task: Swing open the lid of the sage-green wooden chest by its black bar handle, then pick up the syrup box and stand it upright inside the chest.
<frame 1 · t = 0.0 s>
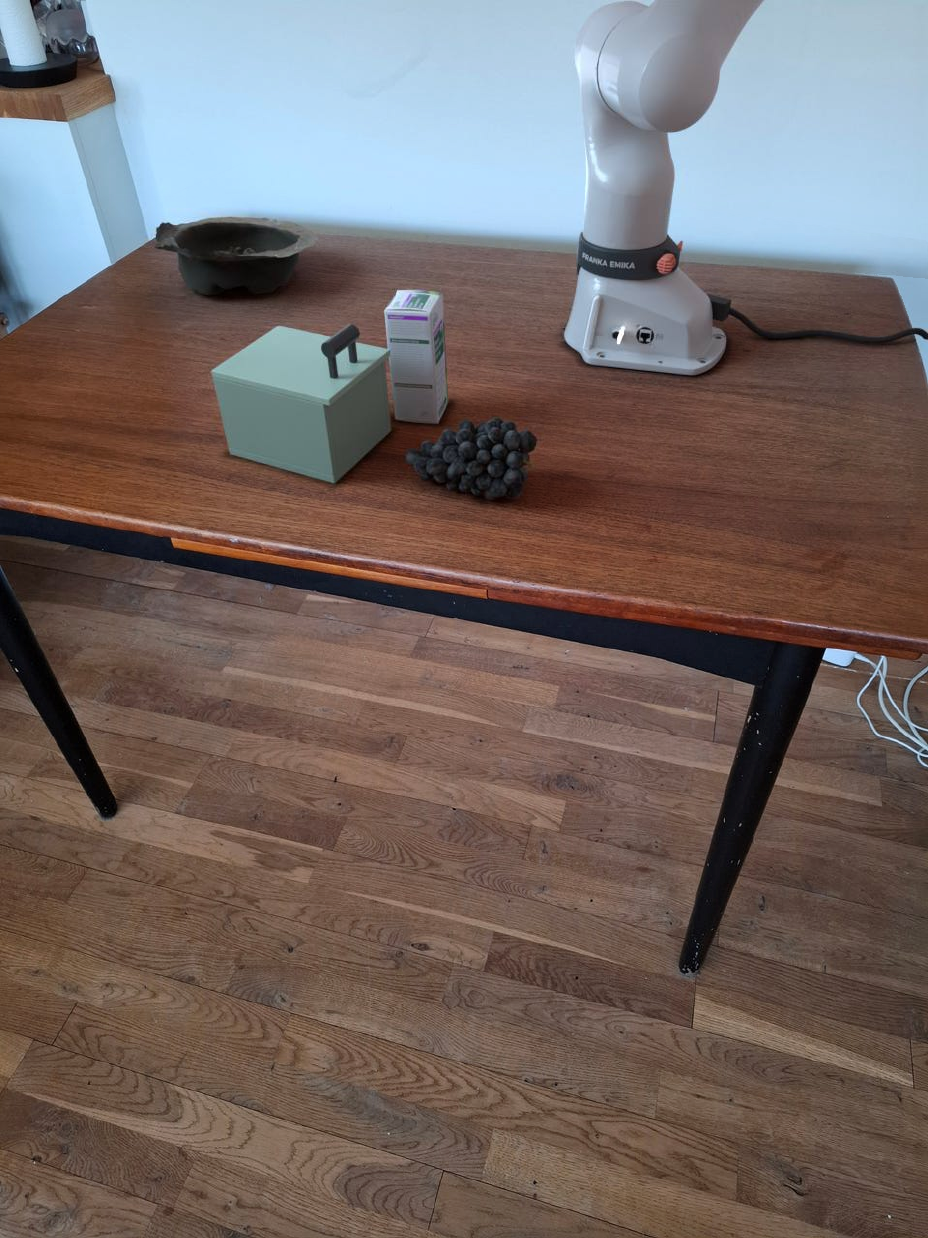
chest: (311, 442, 107), on the table
stone bowl: (246, 279, 145), on the table
lid: (299, 345, 99), point 12 cm above the table, hinge at 0.0°
fruit: (471, 486, 100), on the table
syrup box: (421, 412, 112), on the table
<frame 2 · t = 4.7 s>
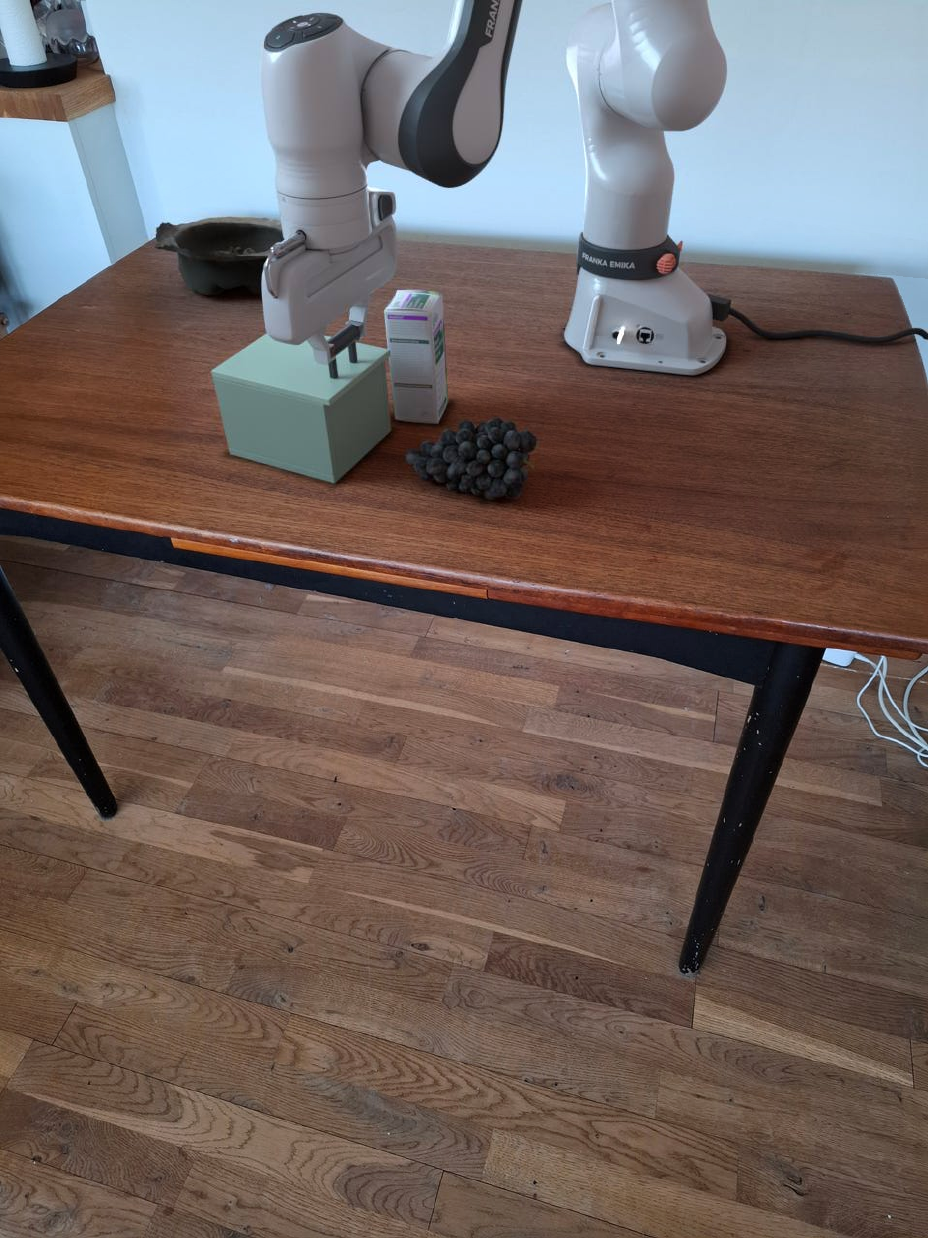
hand: (341, 348, 96), 13 cm above the table, tool pointing down, fingers closed on lid, 5 cm apart
lid: (299, 345, 99), point 12 cm above the table, hinge at -0.1°, touching gripper
everything else where it was.
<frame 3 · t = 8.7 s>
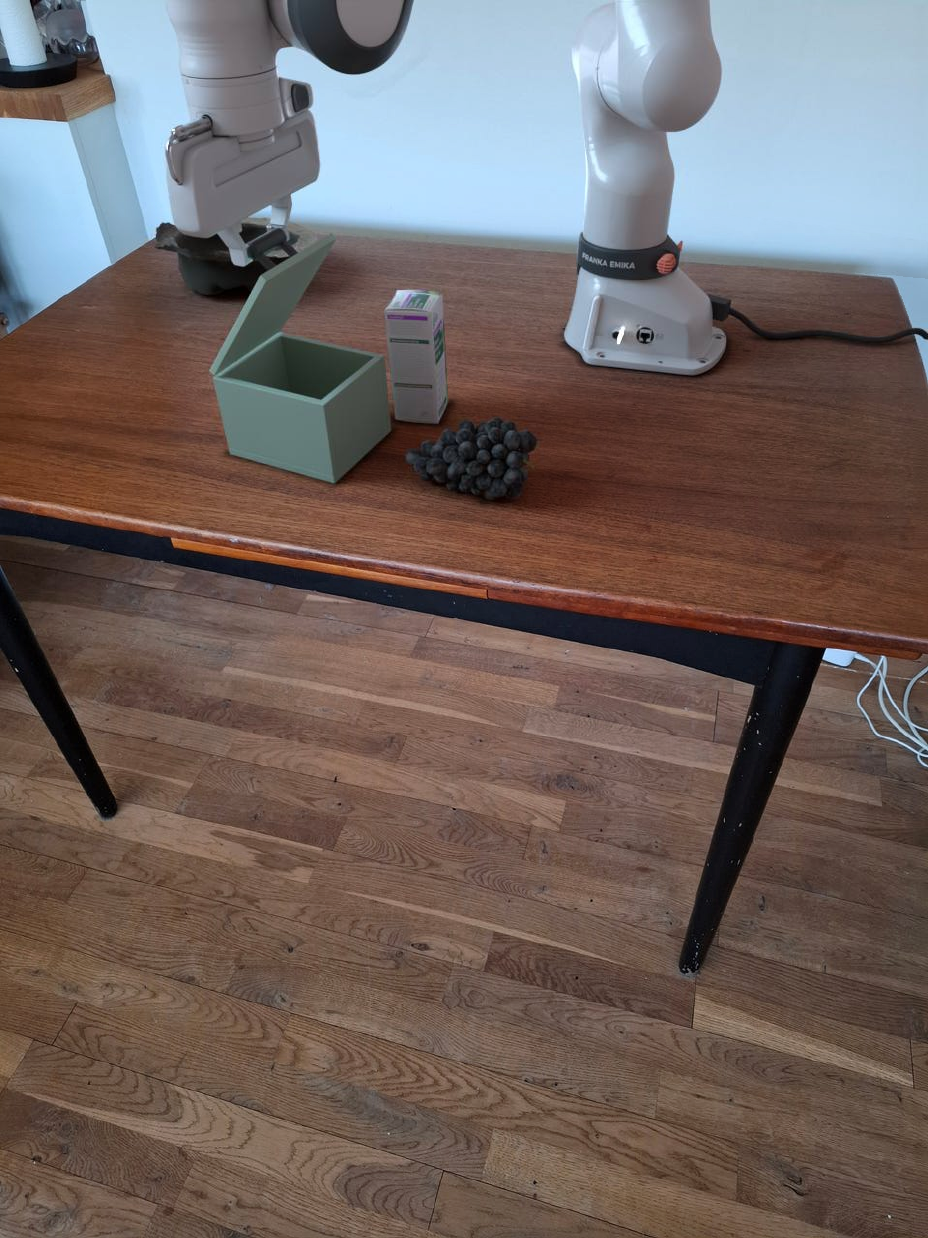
hand: (262, 252, 93), 22 cm above the table, tool pointing down, fingers closed on lid, 5 cm apart
lid: (257, 291, 97), point 18 cm above the table, hinge at 51.7°, touching gripper
everything else where it was.
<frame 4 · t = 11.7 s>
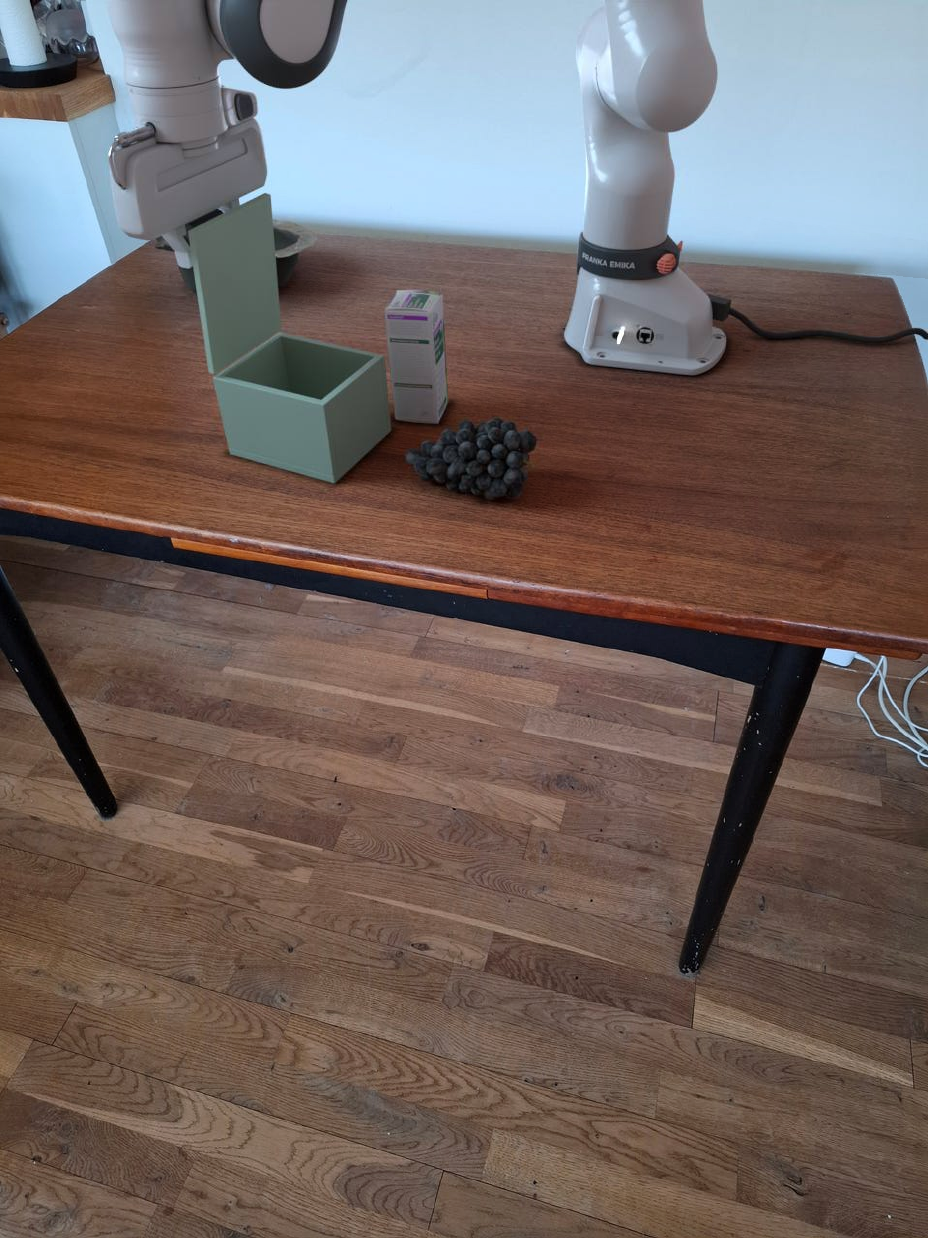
hand: (209, 254, 96), 21 cm above the table, tool pointing down, fingers open, 5 cm apart
lid: (223, 279, 98), point 18 cm above the table, hinge at 84.1°
everything else where it was.
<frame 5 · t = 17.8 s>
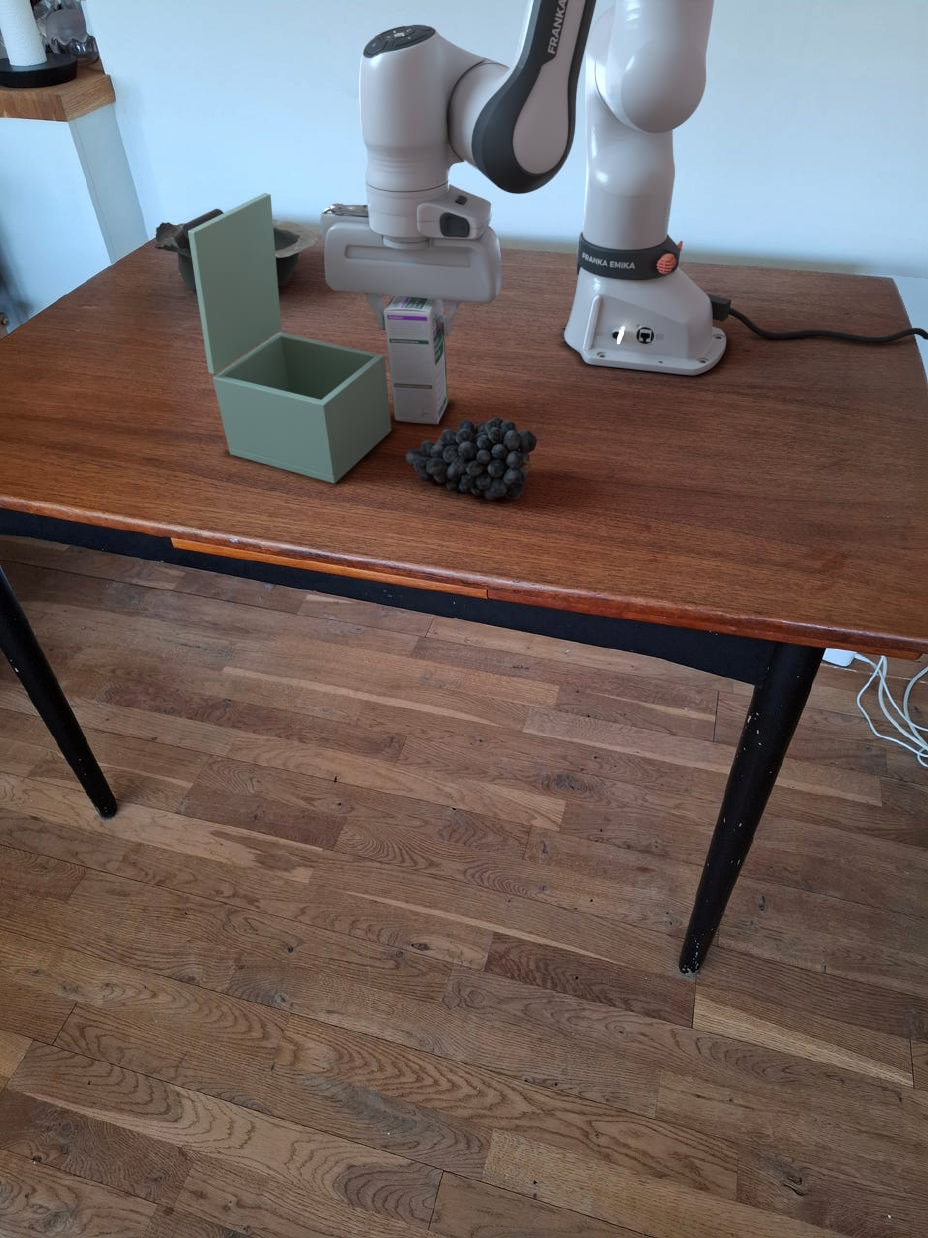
hand: (415, 330, 105), 11 cm above the table, tool pointing down, fingers closed on syrup box, 5 cm apart
syrup box: (421, 413, 112), on the table, touching gripper
everything else where it was.
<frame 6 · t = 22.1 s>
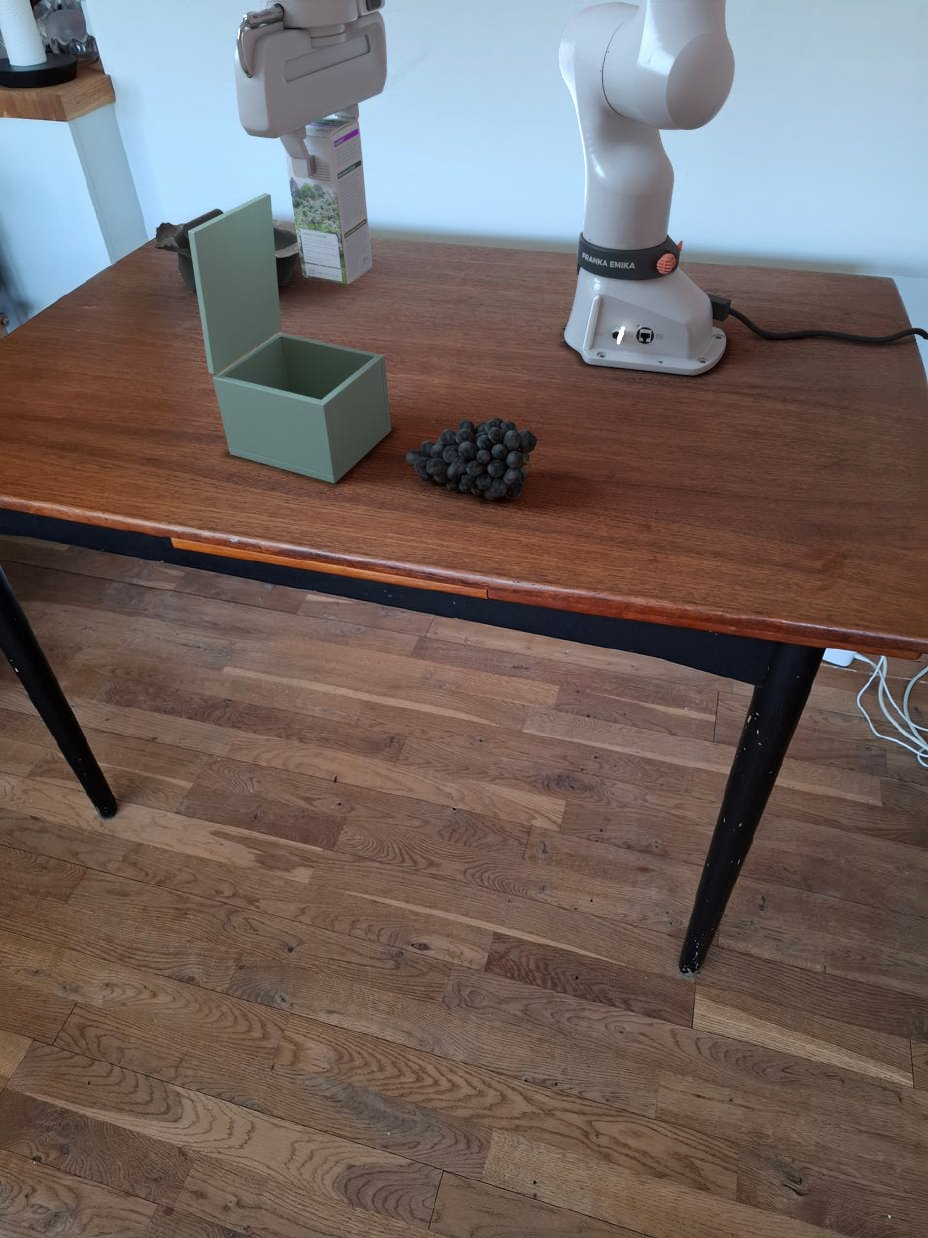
hand: (325, 165, 88), 30 cm above the table, tool pointing down, fingers closed on syrup box, 5 cm apart
syrup box: (338, 274, 95), point 19 cm above the table, touching gripper
everything else where it was.
when the fingers open (12 cm above the table, at t = 27.0 s): syrup box stays where it is, resting on chest.
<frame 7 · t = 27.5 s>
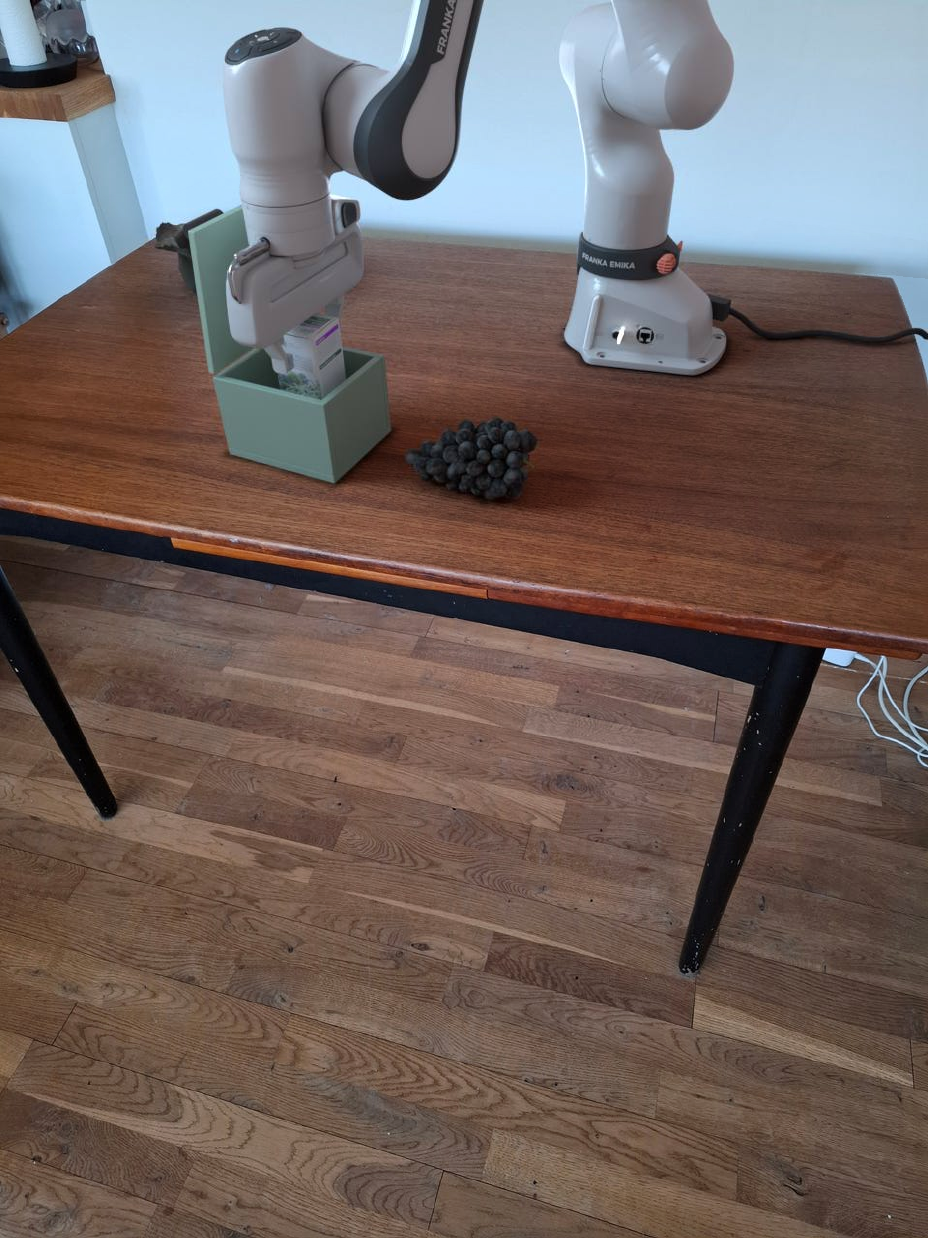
hand: (308, 352, 99), 12 cm above the table, tool pointing down, fingers open, 8 cm apart
syrup box: (321, 439, 106), point 1 cm above the table, touching chest
everything else where it was.
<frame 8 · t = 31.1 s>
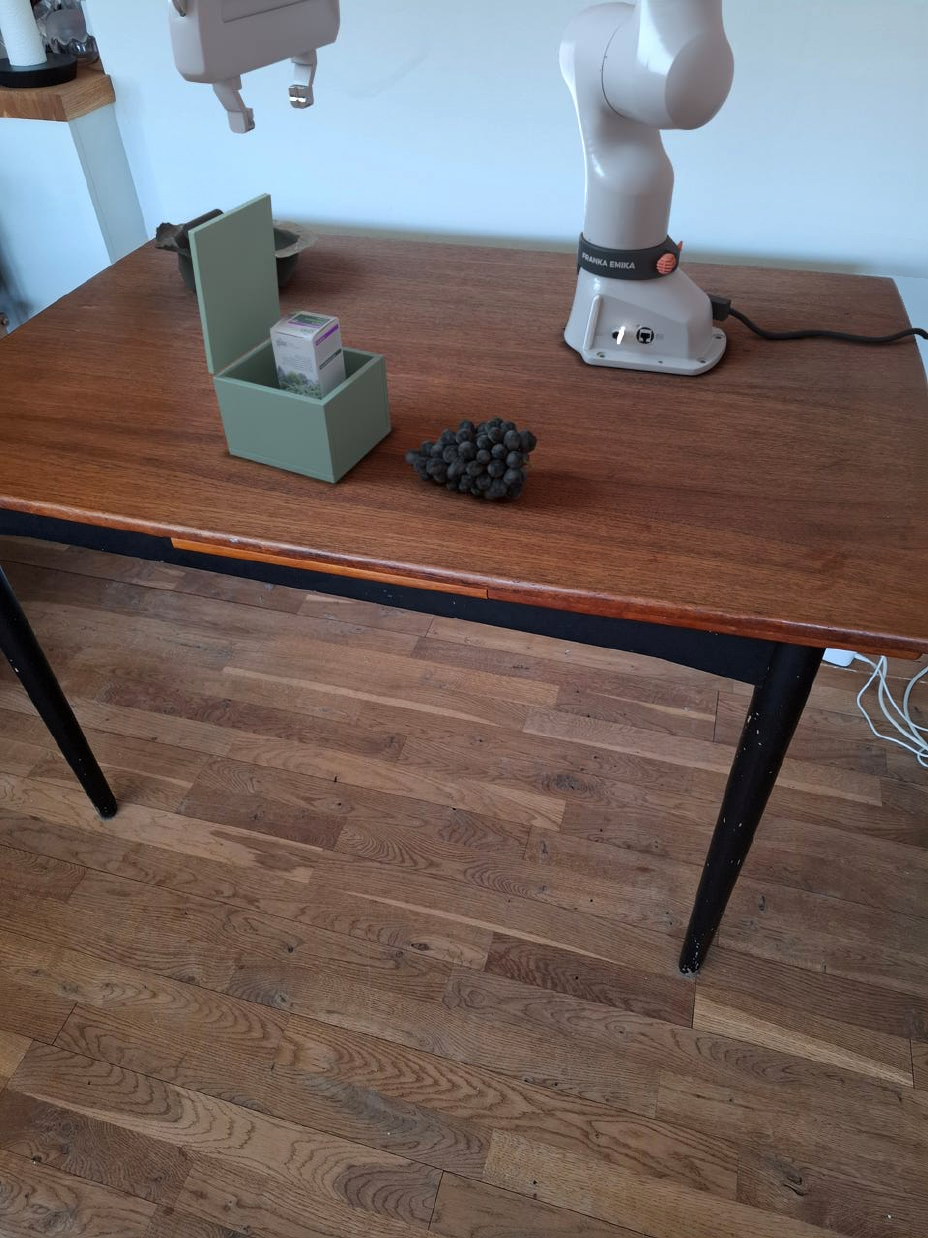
hand: (274, 118, 83), 35 cm above the table, tool pointing down, fingers open, 8 cm apart
nothing on the table moved.
at the end: lid at +84° (first picture: +0°); syrup box inside the target area in the chest (1.5 cm from its centre), point 0.7 cm above the chest's base; syrup box tilted 0° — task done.
